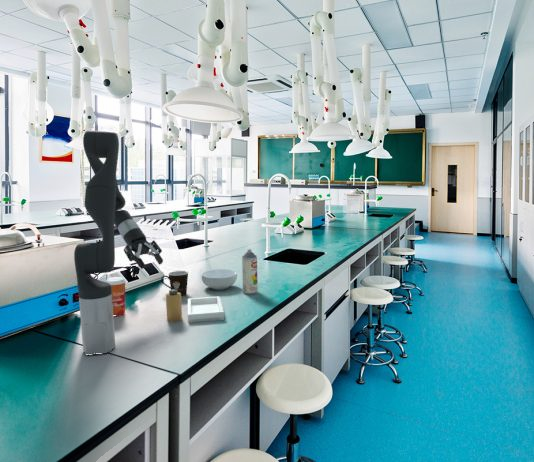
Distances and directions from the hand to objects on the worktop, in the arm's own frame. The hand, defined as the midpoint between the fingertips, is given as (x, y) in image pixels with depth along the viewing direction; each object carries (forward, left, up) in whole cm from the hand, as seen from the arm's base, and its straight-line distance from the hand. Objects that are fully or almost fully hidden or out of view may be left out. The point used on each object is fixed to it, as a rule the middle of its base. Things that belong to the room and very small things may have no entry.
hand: (152, 265), depth 152 cm
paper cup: (+3, +14, -20) cm, 25 cm away
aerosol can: (+20, -41, -20) cm, 49 cm away
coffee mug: (+25, -8, -20) cm, 33 cm away
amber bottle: (-8, -8, -19) cm, 22 cm away
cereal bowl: (+32, -28, -20) cm, 47 cm away
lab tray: (-3, -19, -19) cm, 27 cm away
